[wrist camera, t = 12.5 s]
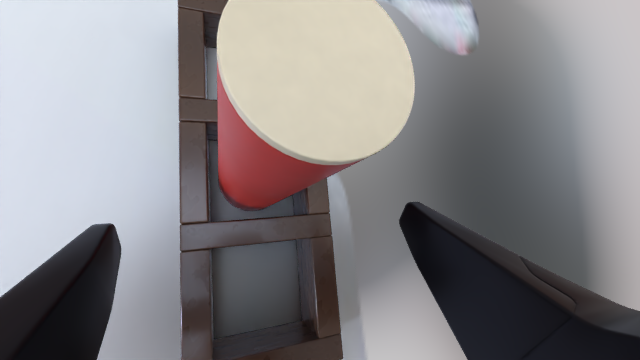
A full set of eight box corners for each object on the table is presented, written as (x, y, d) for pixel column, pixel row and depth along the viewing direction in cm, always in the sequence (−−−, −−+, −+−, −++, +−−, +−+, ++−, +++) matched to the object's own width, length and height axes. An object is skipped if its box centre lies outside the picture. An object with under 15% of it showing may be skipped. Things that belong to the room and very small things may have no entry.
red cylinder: (293, 192, 17) (445, 115, 6) (237, 222, 16) (288, 201, 4) (265, 139, 17) (359, -48, 6) (206, 164, 16) (171, -16, 4)
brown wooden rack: (322, 337, 16) (343, 359, 14) (188, 370, 14) (181, 405, 11) (298, 43, 19) (311, 11, 16) (184, 26, 17) (177, -15, 14)
